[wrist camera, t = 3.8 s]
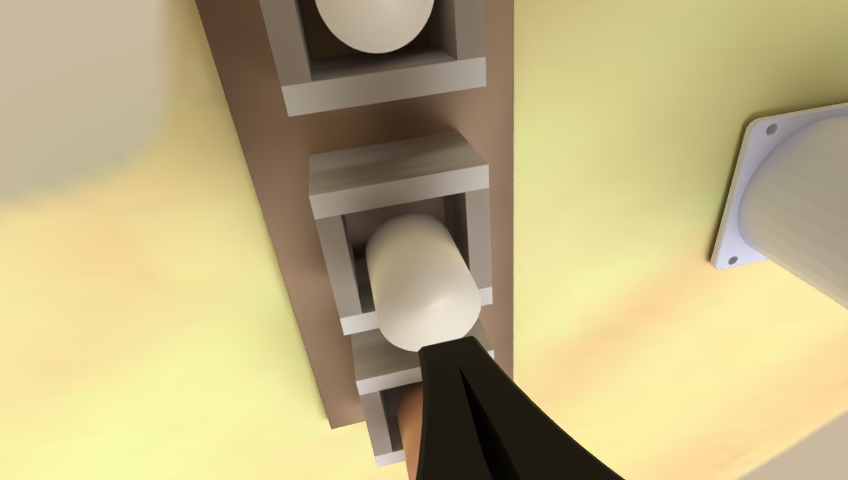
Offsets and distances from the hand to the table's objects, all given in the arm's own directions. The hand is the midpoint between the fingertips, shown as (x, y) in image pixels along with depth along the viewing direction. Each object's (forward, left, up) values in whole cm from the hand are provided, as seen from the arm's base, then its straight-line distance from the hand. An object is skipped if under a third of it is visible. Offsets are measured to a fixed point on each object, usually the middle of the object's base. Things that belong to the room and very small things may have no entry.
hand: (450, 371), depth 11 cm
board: (0, 0, -10) cm, 10 cm away
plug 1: (0, -8, -9) cm, 12 cm away
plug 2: (0, 0, -6) cm, 6 cm away
